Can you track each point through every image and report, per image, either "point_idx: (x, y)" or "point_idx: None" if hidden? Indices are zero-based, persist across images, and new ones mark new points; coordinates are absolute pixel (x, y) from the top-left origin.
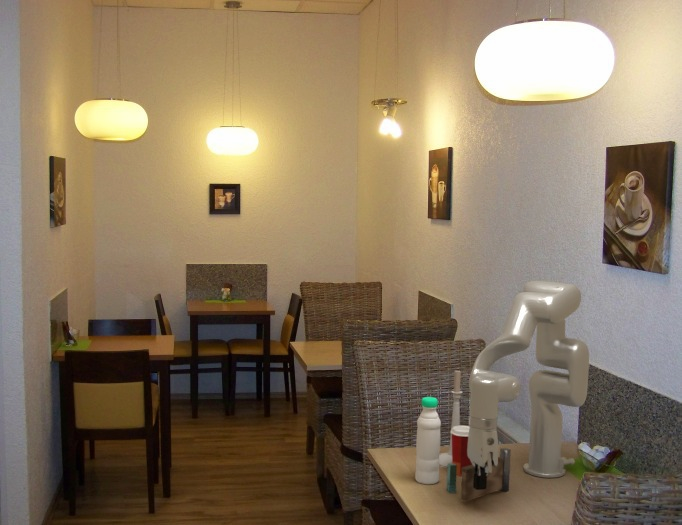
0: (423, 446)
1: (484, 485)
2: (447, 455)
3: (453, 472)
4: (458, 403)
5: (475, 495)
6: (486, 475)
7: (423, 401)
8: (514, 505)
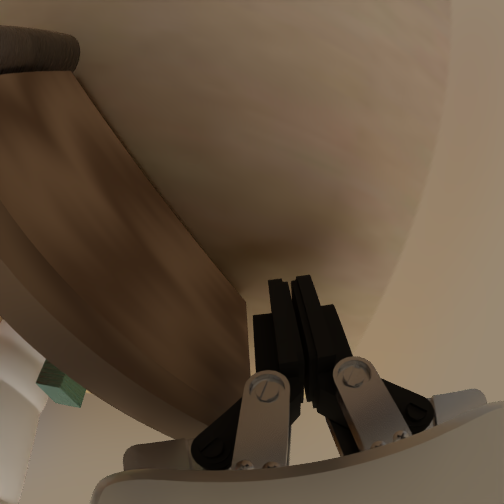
0: (30, 455)
1: (333, 310)
2: None
3: None
4: None
5: (201, 256)
6: (358, 362)
7: None
8: (281, 49)
